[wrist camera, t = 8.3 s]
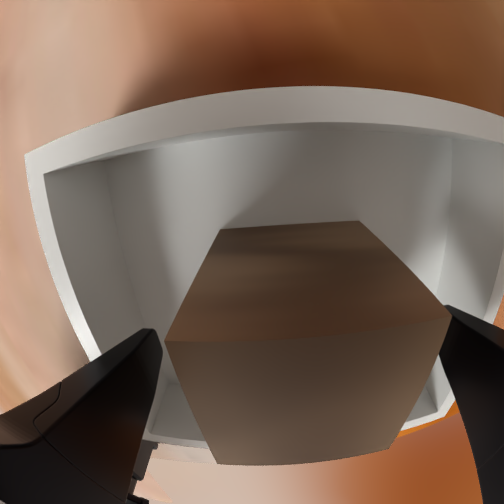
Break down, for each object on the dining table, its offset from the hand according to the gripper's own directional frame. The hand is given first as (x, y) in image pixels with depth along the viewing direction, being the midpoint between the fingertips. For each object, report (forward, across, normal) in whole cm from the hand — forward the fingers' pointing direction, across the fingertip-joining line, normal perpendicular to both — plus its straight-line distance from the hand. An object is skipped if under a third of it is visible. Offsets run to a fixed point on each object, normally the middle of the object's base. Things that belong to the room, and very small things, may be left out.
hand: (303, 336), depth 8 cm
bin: (+4, 0, 0) cm, 4 cm away
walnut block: (+3, 0, 0) cm, 3 cm away
